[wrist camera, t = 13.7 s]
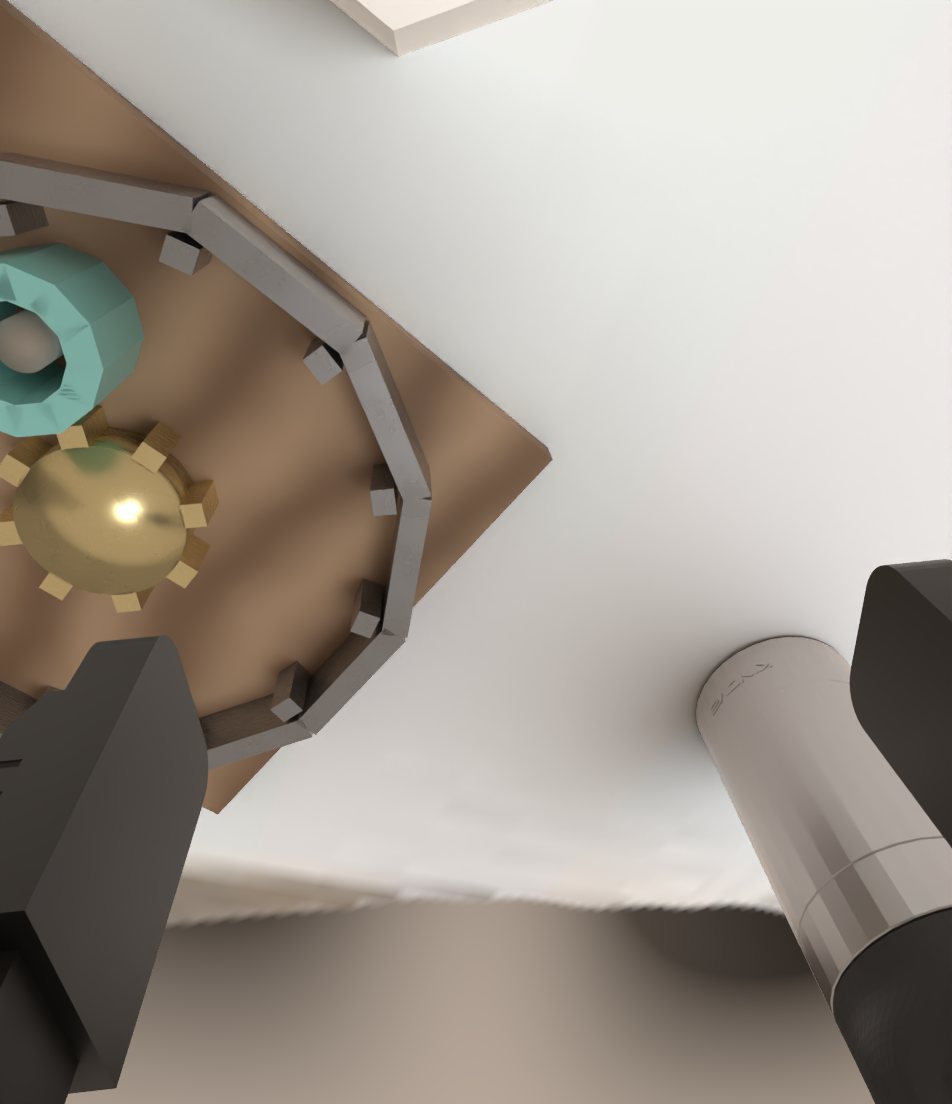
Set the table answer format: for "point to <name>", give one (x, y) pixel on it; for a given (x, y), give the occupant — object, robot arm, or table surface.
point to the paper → (427, 18)
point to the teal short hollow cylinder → (66, 336)
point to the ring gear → (340, 342)
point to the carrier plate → (229, 427)
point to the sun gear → (107, 510)
